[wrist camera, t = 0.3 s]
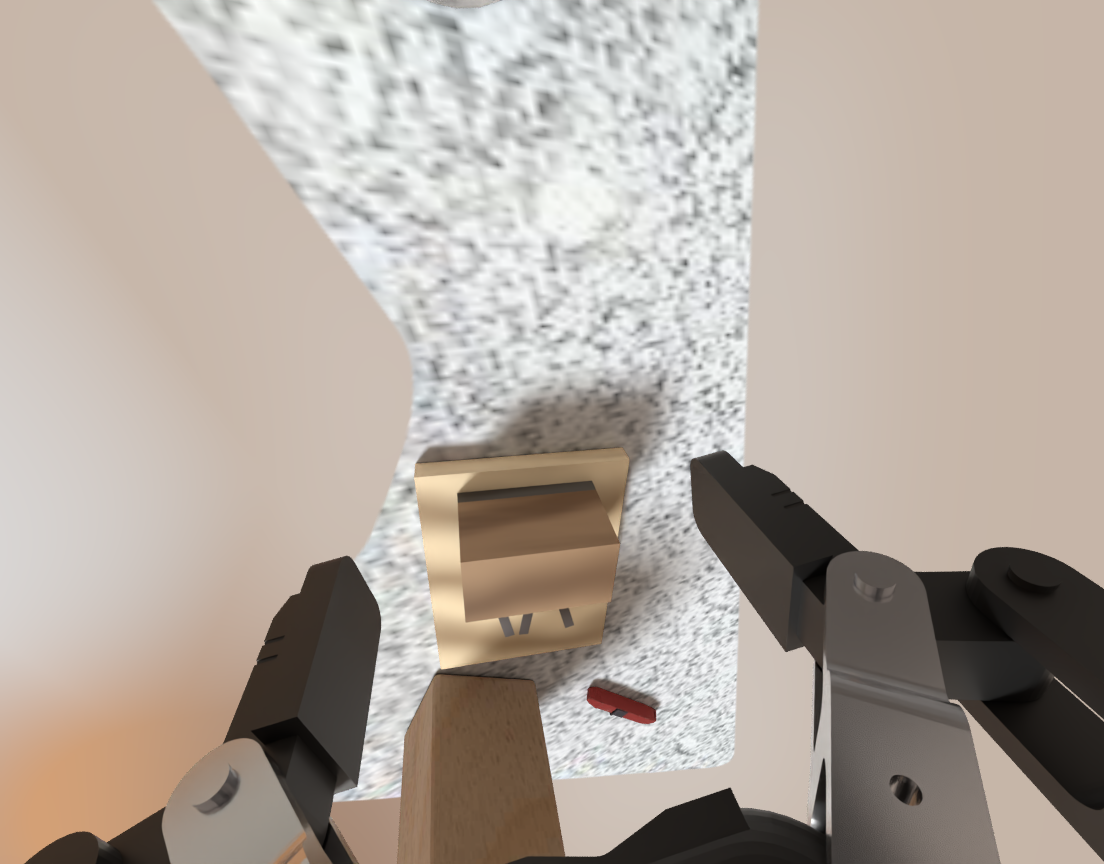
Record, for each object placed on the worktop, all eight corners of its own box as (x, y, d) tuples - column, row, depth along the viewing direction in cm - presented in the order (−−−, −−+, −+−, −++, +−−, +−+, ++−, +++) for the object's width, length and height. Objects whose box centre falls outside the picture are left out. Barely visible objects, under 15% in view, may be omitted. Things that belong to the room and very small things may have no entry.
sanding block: (457, 492, 30) (460, 562, 25) (592, 480, 32) (620, 543, 27) (461, 549, 33) (465, 622, 28) (586, 535, 34) (610, 601, 29)
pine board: (415, 463, 30) (414, 477, 29) (622, 447, 33) (629, 459, 32) (440, 653, 40) (440, 669, 39) (596, 629, 43) (601, 643, 42)
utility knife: (580, 687, 48) (585, 707, 46) (587, 681, 48) (592, 701, 46) (650, 712, 54) (656, 730, 52) (657, 707, 54) (664, 725, 52)
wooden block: (536, 678, 45) (592, 989, 29) (499, 735, 49) (529, 1036, 33) (434, 671, 42) (430, 1024, 25) (403, 733, 46) (382, 1072, 29)
